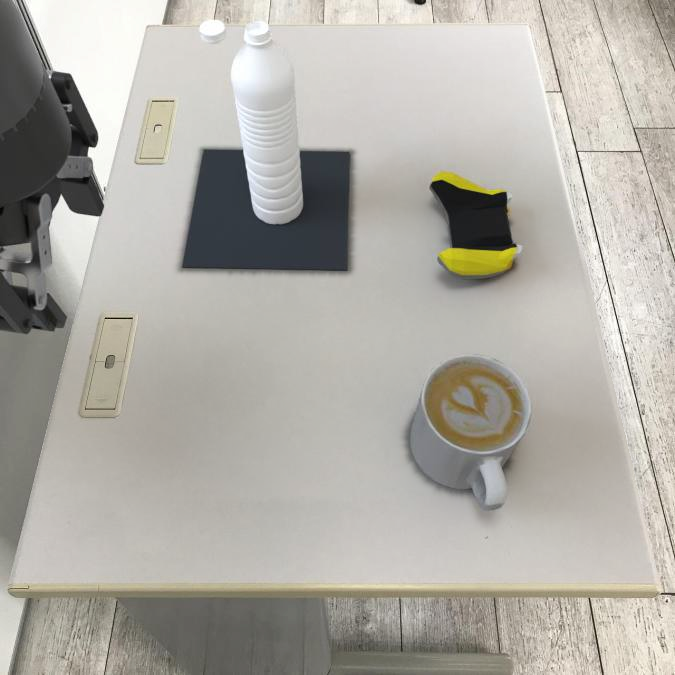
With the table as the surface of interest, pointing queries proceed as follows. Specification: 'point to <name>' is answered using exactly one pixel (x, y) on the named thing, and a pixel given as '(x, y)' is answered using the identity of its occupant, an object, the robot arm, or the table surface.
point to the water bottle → (265, 120)
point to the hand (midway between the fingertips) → (70, 263)
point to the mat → (263, 238)
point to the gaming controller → (474, 227)
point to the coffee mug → (470, 425)
